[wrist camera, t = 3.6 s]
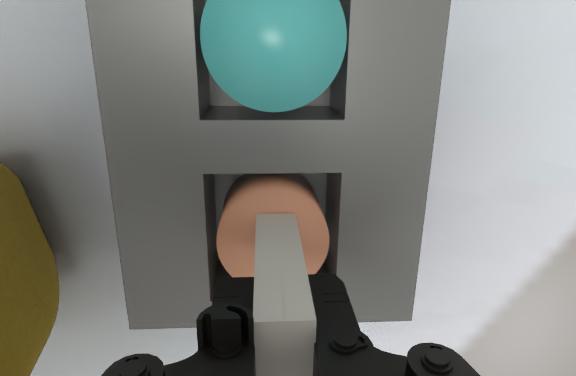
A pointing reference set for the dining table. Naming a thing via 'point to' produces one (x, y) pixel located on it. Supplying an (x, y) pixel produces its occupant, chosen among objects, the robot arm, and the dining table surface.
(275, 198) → the terracotta button
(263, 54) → the teal button
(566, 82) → the dining table surface
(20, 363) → the flower pot
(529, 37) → the dining table surface
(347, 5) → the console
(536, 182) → the dining table surface
